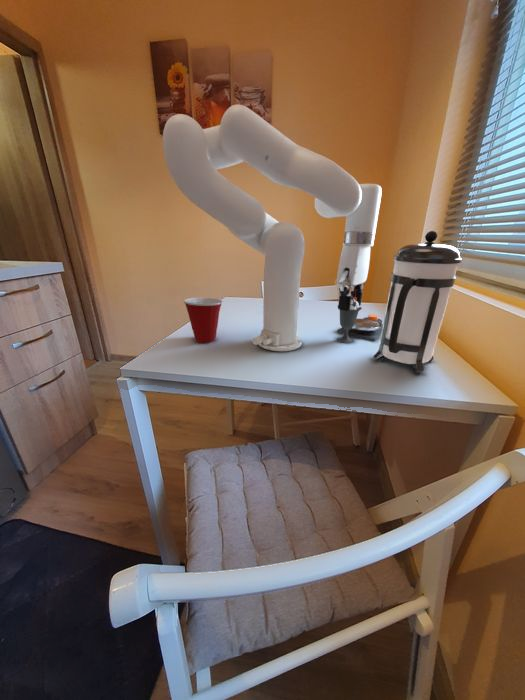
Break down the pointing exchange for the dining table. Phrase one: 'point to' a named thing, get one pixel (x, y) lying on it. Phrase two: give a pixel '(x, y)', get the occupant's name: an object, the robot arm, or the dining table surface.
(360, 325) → the pan
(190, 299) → the plastic cup
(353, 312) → the sundae
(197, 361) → the dining table surface
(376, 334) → the scale
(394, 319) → the coffee press
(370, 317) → the tare button
